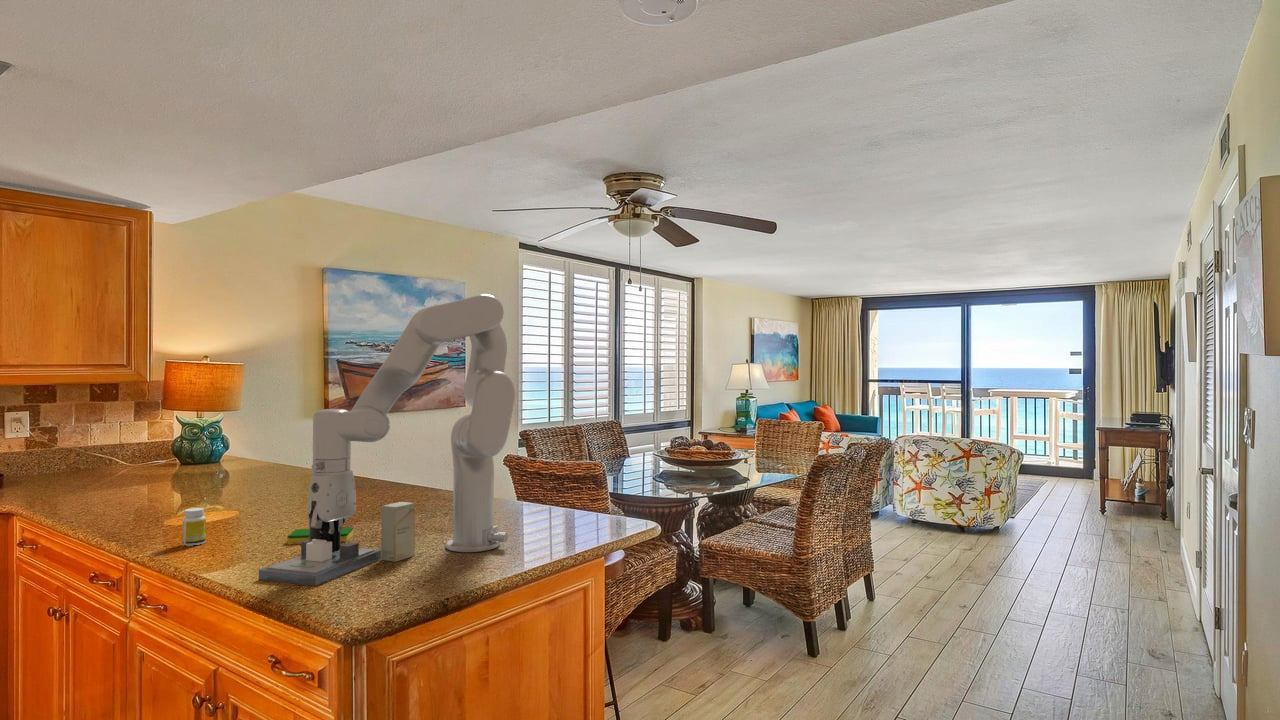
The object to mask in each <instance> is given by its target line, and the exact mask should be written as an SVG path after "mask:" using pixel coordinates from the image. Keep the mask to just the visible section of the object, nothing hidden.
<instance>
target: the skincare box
mask: <svg viewBox="0 0 1280 720" xmlns="http://www.w3.org/2000/svg"><path fill="white" fill-rule="evenodd" d="M415 507H416V505H415V502H408V501H398V502H393V503H388V504H385V505H381V525H380V526H381V536H380V538H381V541H380V543H381V544H380V545H381V546H380V548H381V549H380V550H381V559H380V560H381V561H387V562H398V561H402V560H405V559H408V558H412V557H415V541H416V540H415V532H416V531H415V529H416V526H415V519H416V518H415V515H416V514H415V513H416V512H415V509H416V508H415Z"/></svg>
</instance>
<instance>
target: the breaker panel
mask: <svg viewBox="0 0 1280 720" xmlns="http://www.w3.org/2000/svg"><path fill="white" fill-rule="evenodd" d="M310 542H312V539H310V540H307V541H303V542H301V544H300V548H301V549H300V555H298V556H295V557H293V558H290V559H289V558H288V559H287V560H283V561H281V562H278V563H275V564H272V565H269V566H266V567H262V568H260V569H258V580H259V579H261V580H260V581H266V580H267V582H275V581H277V583H284V584H296V585H303V586H313V587H317V586H319V585H321V584H323V583H326V582H328V581H332V580H335V579H337V578H338V577H341V576H343V575H345V574H348V573H351V572H353V571H356V570H358V569H360V568H363V567H366V566H369V565H371V564H372V563H375V562H377V561H380V560H381V549H375V548H374V549H371V548H363V547H362V548H360V547H359V546H360V545H359V542H350V541H348V542H346V543H343V544H340V549H339V550H338V551H335V552H332V558H331V559H328V560H326V561H323V562H318V561H308V560H306V544H307V543H310Z"/></svg>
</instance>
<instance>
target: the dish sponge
mask: <svg viewBox="0 0 1280 720" xmlns="http://www.w3.org/2000/svg"><path fill="white" fill-rule="evenodd" d="M353 536H354V526H353V527H349V526H347V527H345V526H344V527H342V530H341V543H342V542H343V543H344V542H346V543H347V542H349V540H350V539H351V538H352V537H353ZM286 539H287V542H286V543H287V545H296V544H297V545H298V544H300V545H301V542H303V541H307V540H309V528H298V529H294V531H291V532H290V534H288V535H287V537H286Z"/></svg>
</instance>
